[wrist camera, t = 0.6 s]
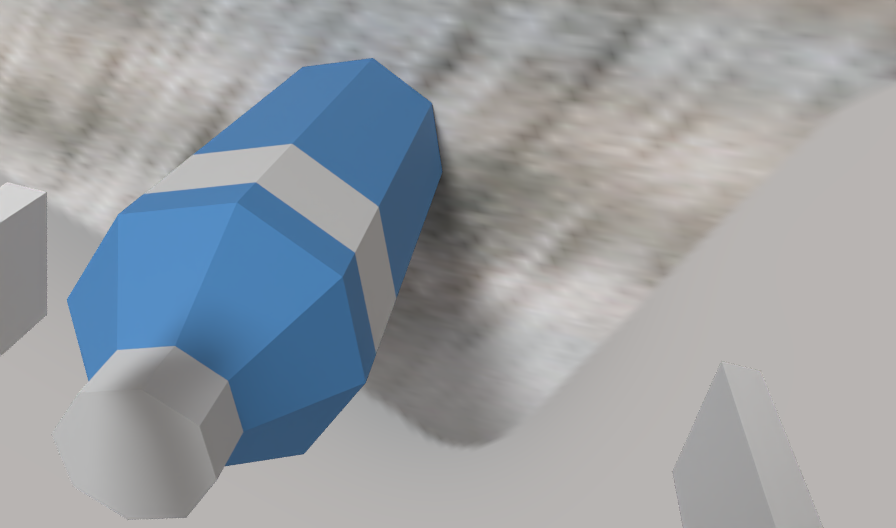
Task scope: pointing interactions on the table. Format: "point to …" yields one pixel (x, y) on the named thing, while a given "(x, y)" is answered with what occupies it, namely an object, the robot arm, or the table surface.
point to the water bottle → (248, 289)
